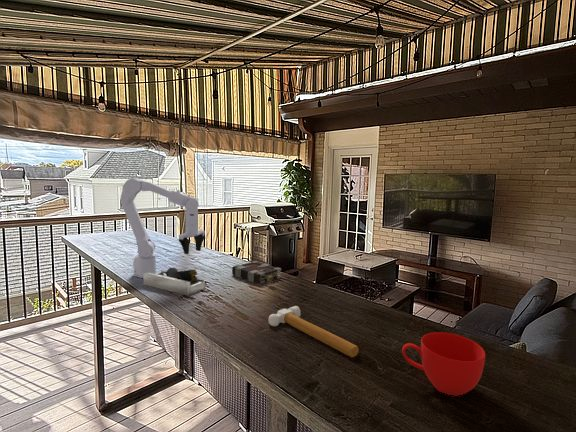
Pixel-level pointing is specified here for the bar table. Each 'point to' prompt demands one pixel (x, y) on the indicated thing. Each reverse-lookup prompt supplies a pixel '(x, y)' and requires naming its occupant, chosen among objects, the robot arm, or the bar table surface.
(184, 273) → the pipe connector
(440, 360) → the ceramic cup
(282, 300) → the bar table surface
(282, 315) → the hammer
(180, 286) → the white long box
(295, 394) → the bar table surface
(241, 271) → the book
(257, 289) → the bar table surface
